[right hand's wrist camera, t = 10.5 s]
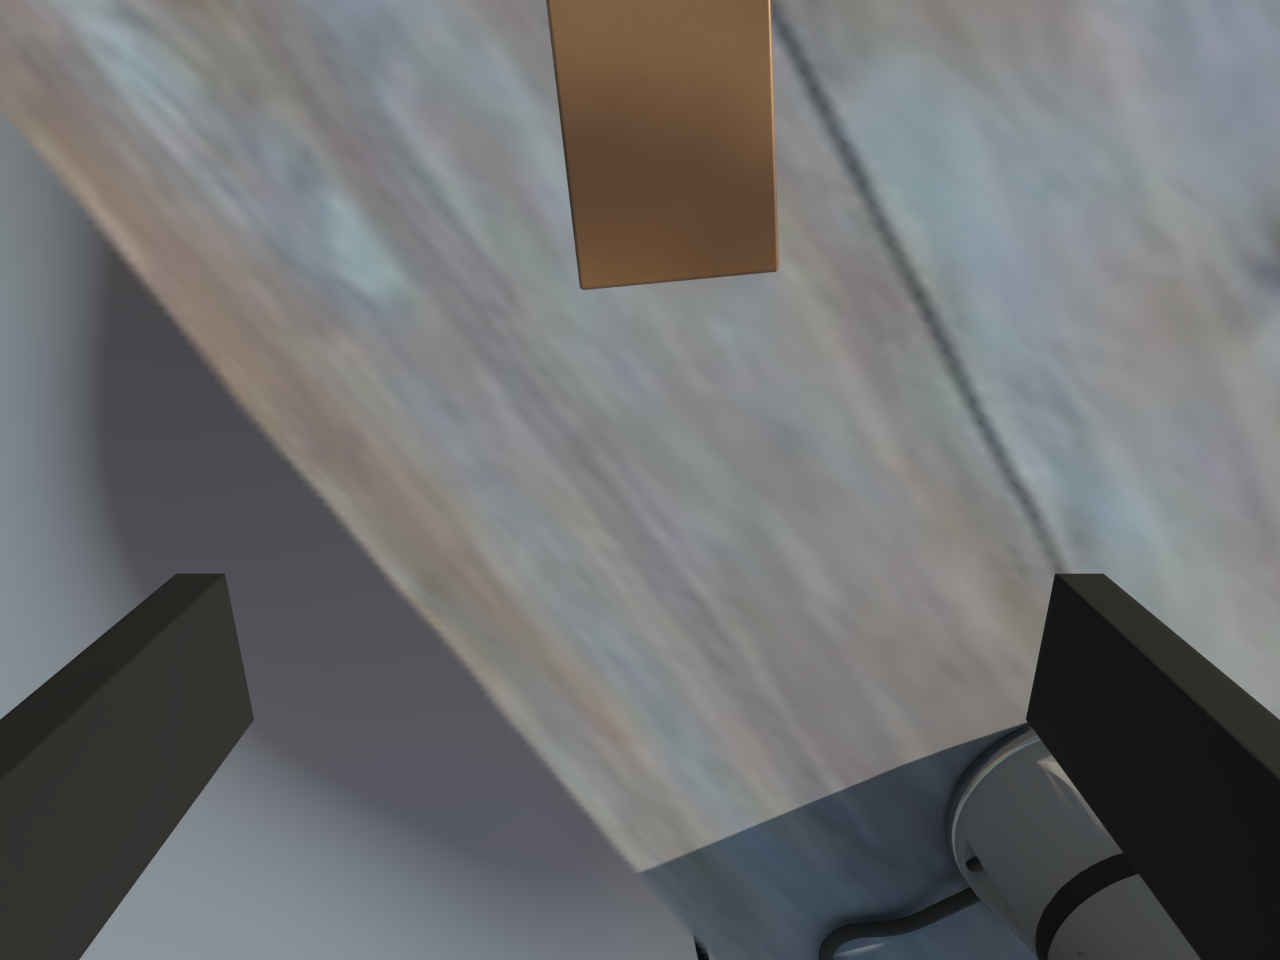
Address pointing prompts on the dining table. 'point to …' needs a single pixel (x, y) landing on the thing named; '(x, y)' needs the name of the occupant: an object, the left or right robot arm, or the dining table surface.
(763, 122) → the bar
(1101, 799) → the right robot arm
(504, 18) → the dining table surface
